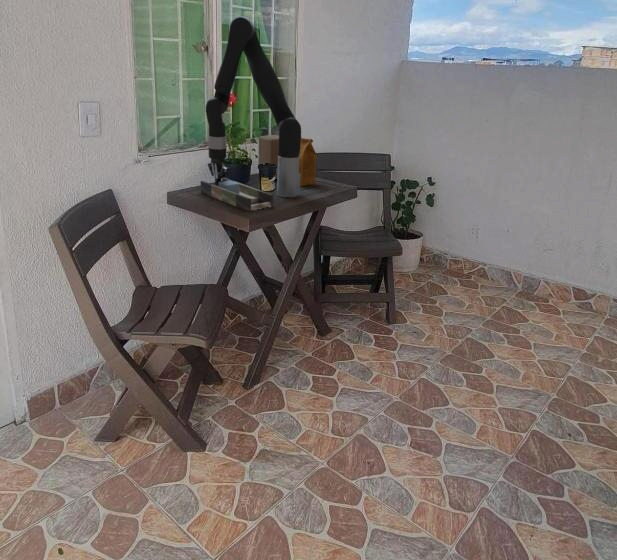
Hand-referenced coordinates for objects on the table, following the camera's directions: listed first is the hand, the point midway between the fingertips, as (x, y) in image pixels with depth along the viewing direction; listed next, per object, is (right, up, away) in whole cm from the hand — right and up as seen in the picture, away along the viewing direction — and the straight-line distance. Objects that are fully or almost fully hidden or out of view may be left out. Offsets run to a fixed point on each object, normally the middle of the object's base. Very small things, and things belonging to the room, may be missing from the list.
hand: (218, 186), depth 243 cm
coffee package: (+36, +5, +23) cm, 44 cm away
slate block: (+5, -3, -5) cm, 8 cm away
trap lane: (+9, -7, -8) cm, 14 cm away
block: (+21, +10, +32) cm, 39 cm away
